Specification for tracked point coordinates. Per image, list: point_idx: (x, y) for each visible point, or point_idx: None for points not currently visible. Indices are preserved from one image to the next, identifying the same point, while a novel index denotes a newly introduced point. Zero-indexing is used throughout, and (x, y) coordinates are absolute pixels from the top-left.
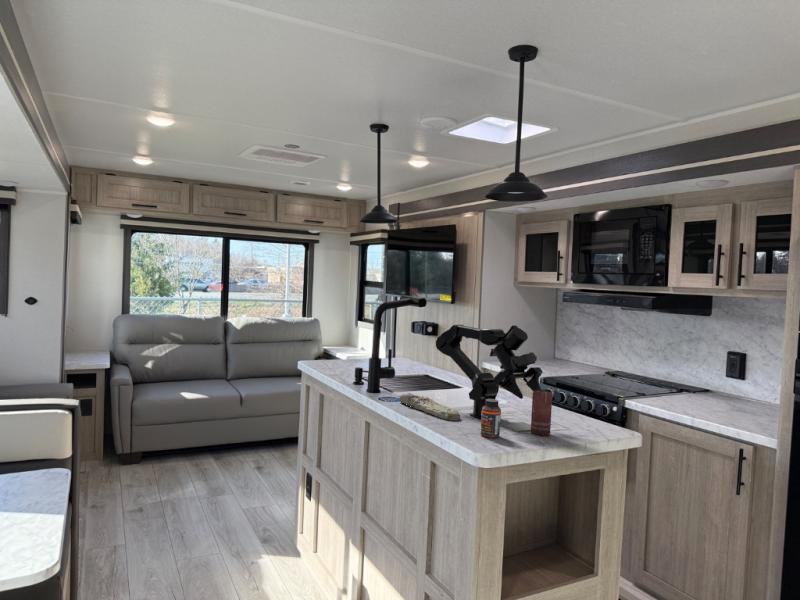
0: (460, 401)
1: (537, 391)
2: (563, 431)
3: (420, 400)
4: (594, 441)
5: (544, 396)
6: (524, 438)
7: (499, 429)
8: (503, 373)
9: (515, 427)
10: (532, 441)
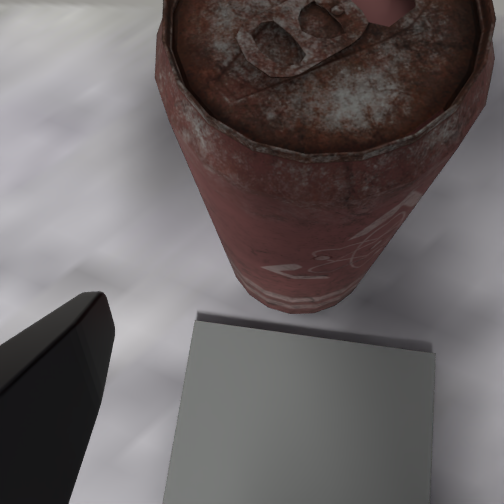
0: None
1: (379, 90)
2: (79, 234)
3: None
4: (117, 10)
5: None
6: (497, 209)
7: None
8: None
9: (373, 451)
10: (493, 138)
